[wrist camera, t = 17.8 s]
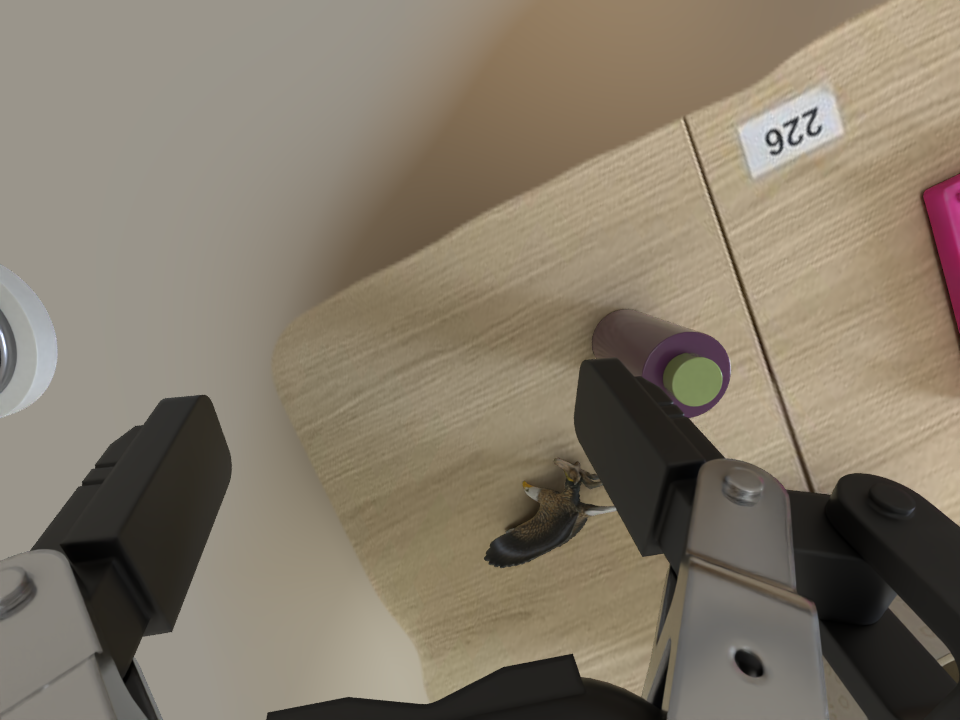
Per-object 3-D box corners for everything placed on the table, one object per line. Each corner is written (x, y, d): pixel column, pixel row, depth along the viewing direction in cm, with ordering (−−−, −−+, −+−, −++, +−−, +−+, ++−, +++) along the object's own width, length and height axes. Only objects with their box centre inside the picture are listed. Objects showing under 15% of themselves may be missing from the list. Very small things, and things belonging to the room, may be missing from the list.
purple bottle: (593, 376, 35) (652, 432, 24) (589, 313, 34) (649, 341, 23) (657, 368, 35) (743, 420, 24) (655, 305, 34) (745, 330, 23)
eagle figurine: (518, 431, 35) (460, 539, 35) (591, 480, 29) (523, 607, 29) (573, 455, 40) (522, 549, 40) (644, 500, 34) (586, 608, 34)
